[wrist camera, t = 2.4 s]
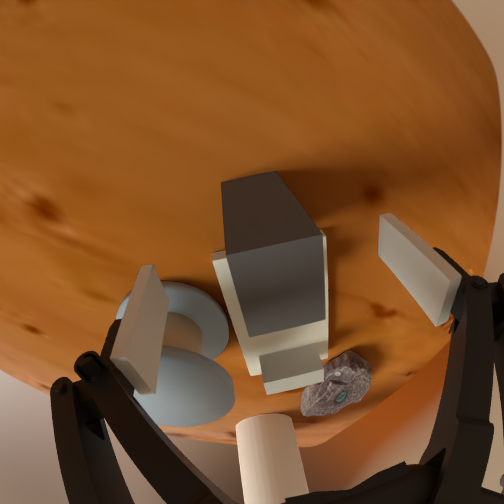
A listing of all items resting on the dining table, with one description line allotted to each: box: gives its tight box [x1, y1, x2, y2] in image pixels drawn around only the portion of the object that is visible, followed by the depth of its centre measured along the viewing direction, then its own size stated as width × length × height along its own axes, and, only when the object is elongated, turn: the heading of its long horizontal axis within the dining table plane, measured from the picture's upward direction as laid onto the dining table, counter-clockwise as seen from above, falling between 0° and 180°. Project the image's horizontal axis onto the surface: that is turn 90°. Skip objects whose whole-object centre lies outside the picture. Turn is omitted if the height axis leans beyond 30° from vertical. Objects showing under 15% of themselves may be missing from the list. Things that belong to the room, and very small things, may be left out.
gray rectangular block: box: [221, 171, 326, 337], centre depth 17 cm, size 5×4×10 cm
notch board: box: [212, 229, 328, 395], centre depth 25 cm, size 16×9×5 cm, turn 10°
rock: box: [300, 350, 372, 417], centre depth 33 cm, size 8×11×5 cm
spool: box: [116, 281, 235, 427], centre depth 23 cm, size 11×11×8 cm
